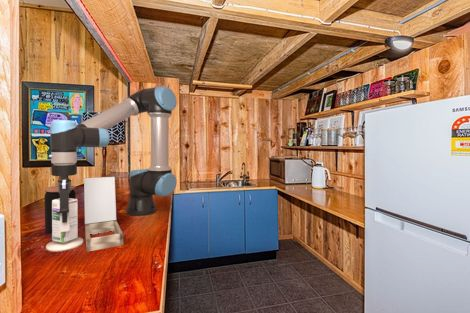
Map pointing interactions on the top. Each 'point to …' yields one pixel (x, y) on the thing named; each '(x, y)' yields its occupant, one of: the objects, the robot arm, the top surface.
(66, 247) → the saucer
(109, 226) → the box
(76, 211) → the syrup box
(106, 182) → the lid
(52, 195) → the coffee jar
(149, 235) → the top surface
